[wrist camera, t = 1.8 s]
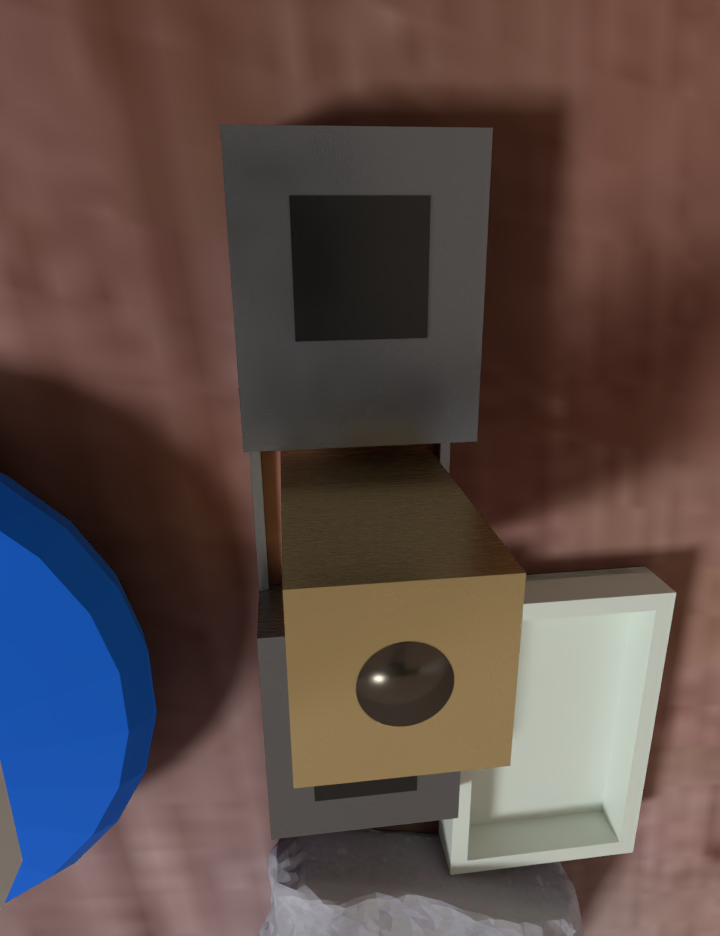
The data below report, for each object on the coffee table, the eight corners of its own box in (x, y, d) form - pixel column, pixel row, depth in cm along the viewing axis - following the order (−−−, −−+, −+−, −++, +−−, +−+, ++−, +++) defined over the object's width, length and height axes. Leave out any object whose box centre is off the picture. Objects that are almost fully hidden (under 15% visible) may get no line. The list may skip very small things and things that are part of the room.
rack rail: (229, 146, 16) (219, 123, 14) (457, 148, 17) (493, 126, 14) (271, 767, 23) (271, 841, 20) (436, 750, 23) (458, 820, 21)
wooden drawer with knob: (280, 440, 19) (282, 590, 11) (418, 434, 20) (526, 573, 11) (287, 566, 20) (293, 789, 12) (415, 557, 21) (510, 766, 12)
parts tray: (447, 580, 21) (462, 608, 20) (645, 566, 22) (676, 592, 20) (438, 832, 25) (450, 874, 23) (609, 812, 26) (632, 852, 24)
